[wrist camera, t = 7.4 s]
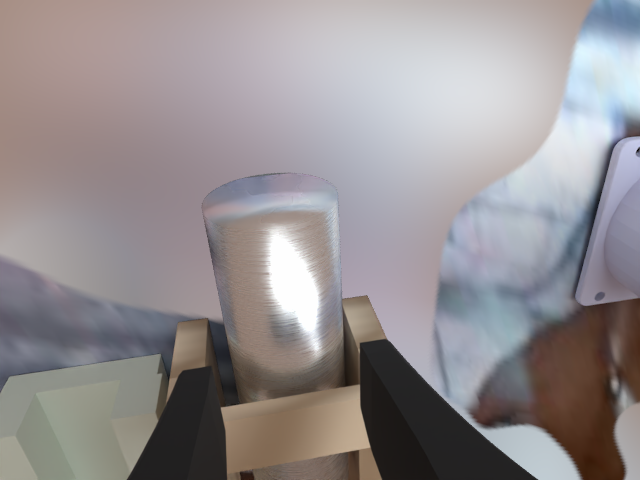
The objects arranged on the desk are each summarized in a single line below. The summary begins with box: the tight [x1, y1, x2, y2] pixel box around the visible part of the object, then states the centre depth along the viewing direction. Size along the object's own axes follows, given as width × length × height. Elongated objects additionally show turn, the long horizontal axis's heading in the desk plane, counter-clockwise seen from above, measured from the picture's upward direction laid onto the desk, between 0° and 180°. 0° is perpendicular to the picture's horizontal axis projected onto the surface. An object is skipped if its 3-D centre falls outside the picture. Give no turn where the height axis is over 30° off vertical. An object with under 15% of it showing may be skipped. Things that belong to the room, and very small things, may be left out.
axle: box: [202, 173, 349, 480], centre depth 19 cm, size 14×4×4 cm, turn 4°
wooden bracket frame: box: [166, 295, 387, 480], centre depth 20 cm, size 8×12×6 cm, turn 3°
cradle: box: [0, 354, 169, 480], centre depth 20 cm, size 6×9×3 cm
